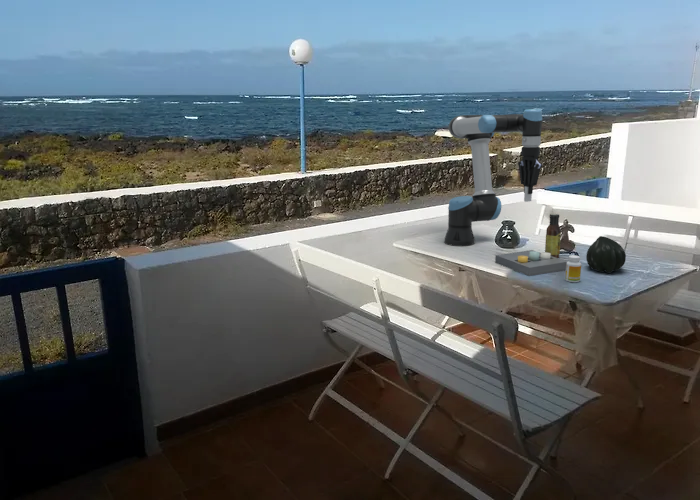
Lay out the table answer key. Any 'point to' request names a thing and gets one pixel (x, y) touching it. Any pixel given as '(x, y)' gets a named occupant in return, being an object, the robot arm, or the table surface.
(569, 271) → the supplement bottle
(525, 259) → the amber button
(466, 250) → the table surface
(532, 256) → the teal button
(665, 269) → the table surface
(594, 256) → the squash
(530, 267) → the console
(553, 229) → the sauce bottle
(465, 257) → the table surface
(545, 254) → the ivory button
